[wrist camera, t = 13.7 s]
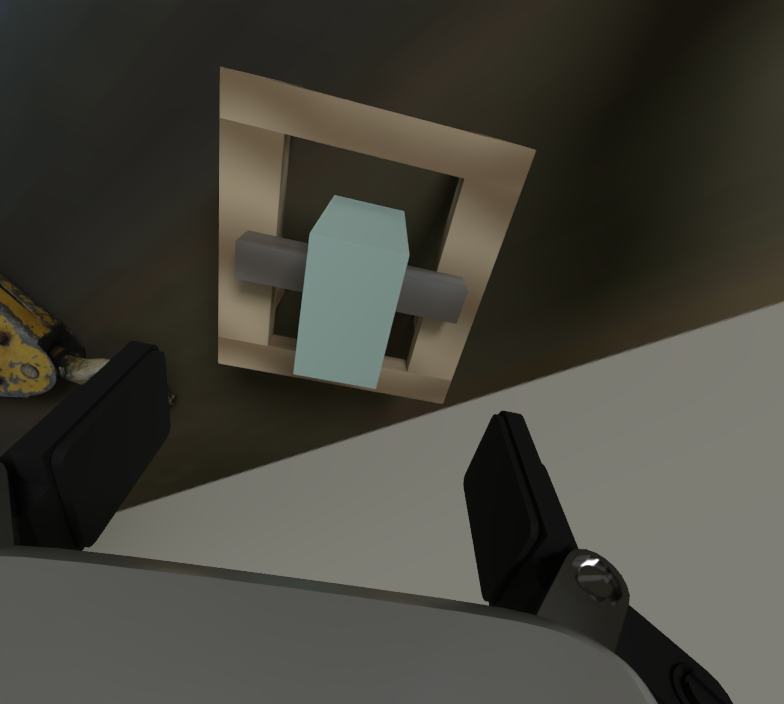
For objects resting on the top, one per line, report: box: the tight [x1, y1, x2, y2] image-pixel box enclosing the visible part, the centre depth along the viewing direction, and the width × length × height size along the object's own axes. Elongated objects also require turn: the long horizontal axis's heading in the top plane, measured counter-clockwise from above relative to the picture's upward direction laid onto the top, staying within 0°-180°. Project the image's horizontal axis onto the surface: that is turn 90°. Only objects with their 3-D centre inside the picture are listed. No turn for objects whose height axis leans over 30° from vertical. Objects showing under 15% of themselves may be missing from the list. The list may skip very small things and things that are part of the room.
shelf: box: [218, 67, 536, 404], centre depth 27 cm, size 16×15×14 cm
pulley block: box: [0, 273, 176, 405], centre depth 37 cm, size 14×6×30 cm
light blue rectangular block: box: [293, 195, 409, 389], centre depth 21 cm, size 7×4×8 cm, turn 167°
